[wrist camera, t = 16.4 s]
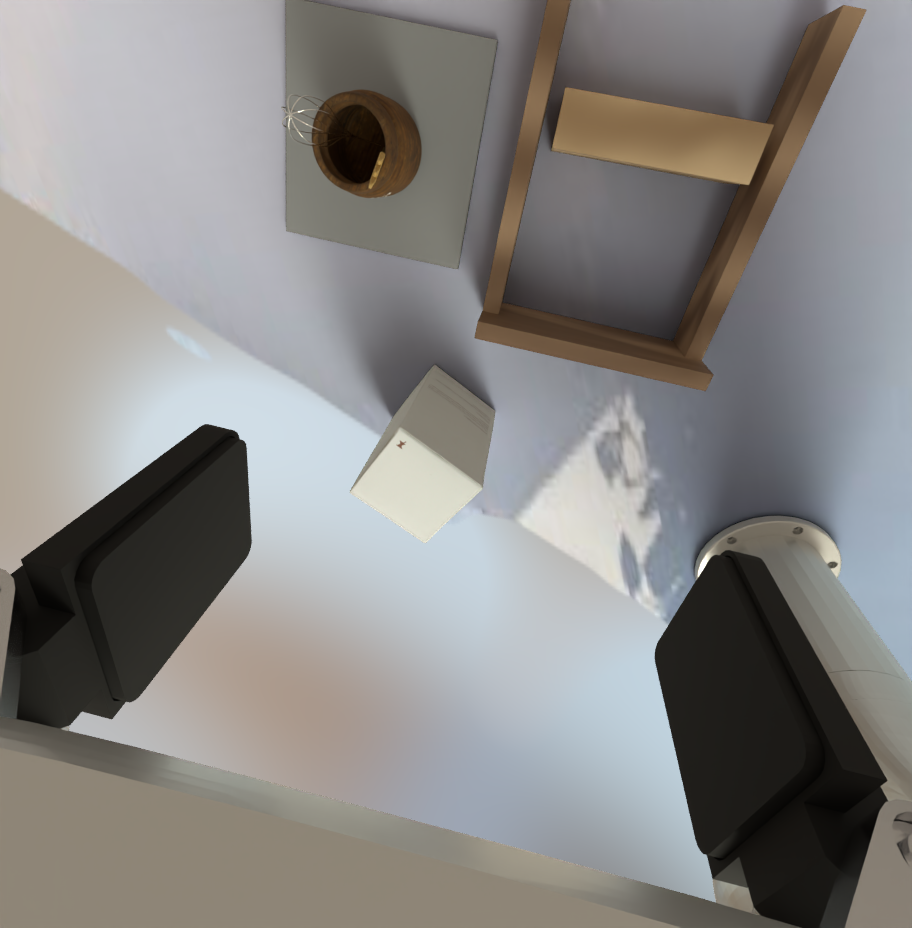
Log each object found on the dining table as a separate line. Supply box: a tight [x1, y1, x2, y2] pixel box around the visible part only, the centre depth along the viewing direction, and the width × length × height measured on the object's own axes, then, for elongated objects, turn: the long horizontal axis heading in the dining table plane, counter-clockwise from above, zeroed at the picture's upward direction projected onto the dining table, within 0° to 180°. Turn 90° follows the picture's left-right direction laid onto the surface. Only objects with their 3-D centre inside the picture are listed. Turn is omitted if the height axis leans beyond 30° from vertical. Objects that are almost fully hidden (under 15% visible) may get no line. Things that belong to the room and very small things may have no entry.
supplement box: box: [350, 365, 495, 543], centre depth 40 cm, size 7×7×13 cm
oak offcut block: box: [551, 87, 774, 185], centre depth 31 cm, size 3×12×5 cm, turn 81°
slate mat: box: [286, 0, 498, 269], centre depth 35 cm, size 14×14×1 cm
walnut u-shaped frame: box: [475, 0, 866, 391], centre depth 32 cm, size 21×16×7 cm
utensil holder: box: [281, 89, 422, 198], centre depth 30 cm, size 6×6×12 cm
